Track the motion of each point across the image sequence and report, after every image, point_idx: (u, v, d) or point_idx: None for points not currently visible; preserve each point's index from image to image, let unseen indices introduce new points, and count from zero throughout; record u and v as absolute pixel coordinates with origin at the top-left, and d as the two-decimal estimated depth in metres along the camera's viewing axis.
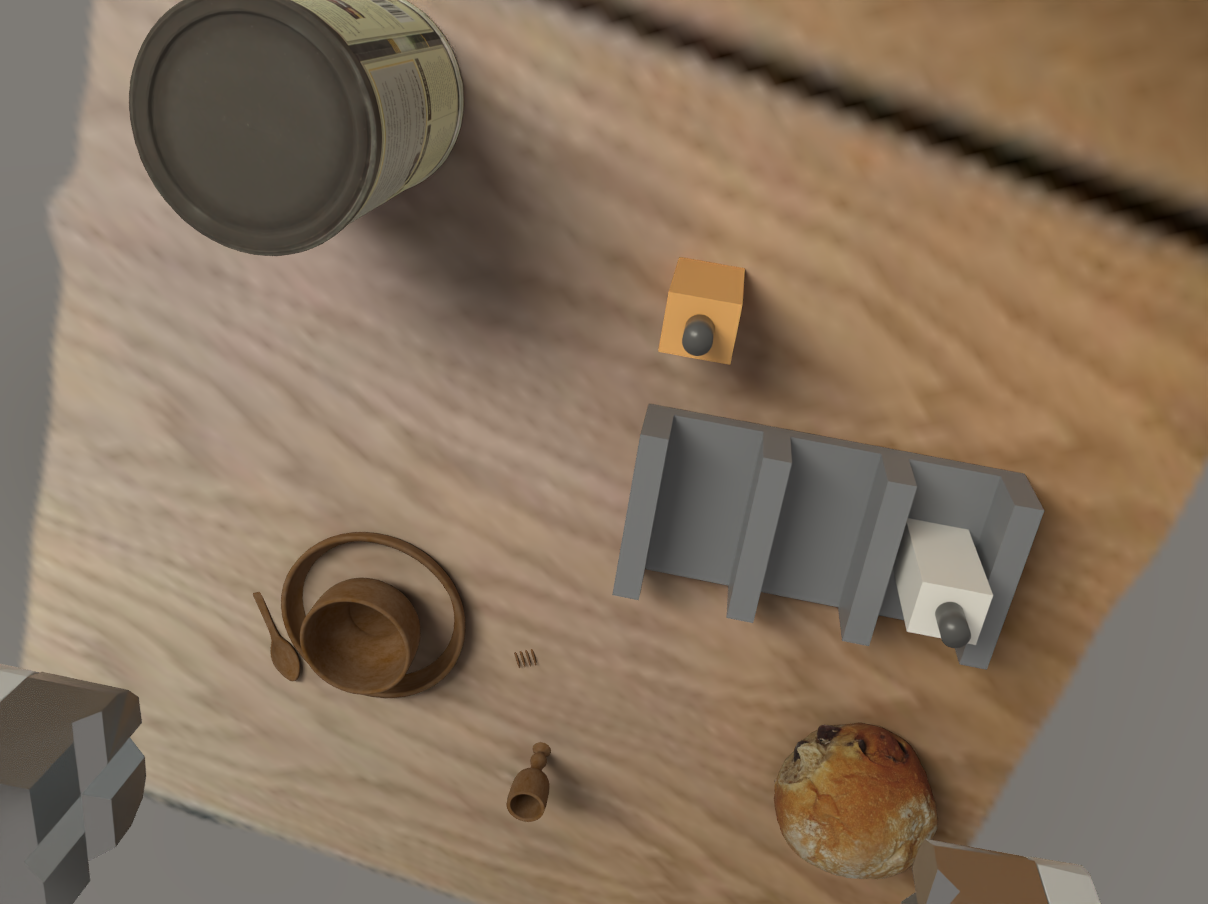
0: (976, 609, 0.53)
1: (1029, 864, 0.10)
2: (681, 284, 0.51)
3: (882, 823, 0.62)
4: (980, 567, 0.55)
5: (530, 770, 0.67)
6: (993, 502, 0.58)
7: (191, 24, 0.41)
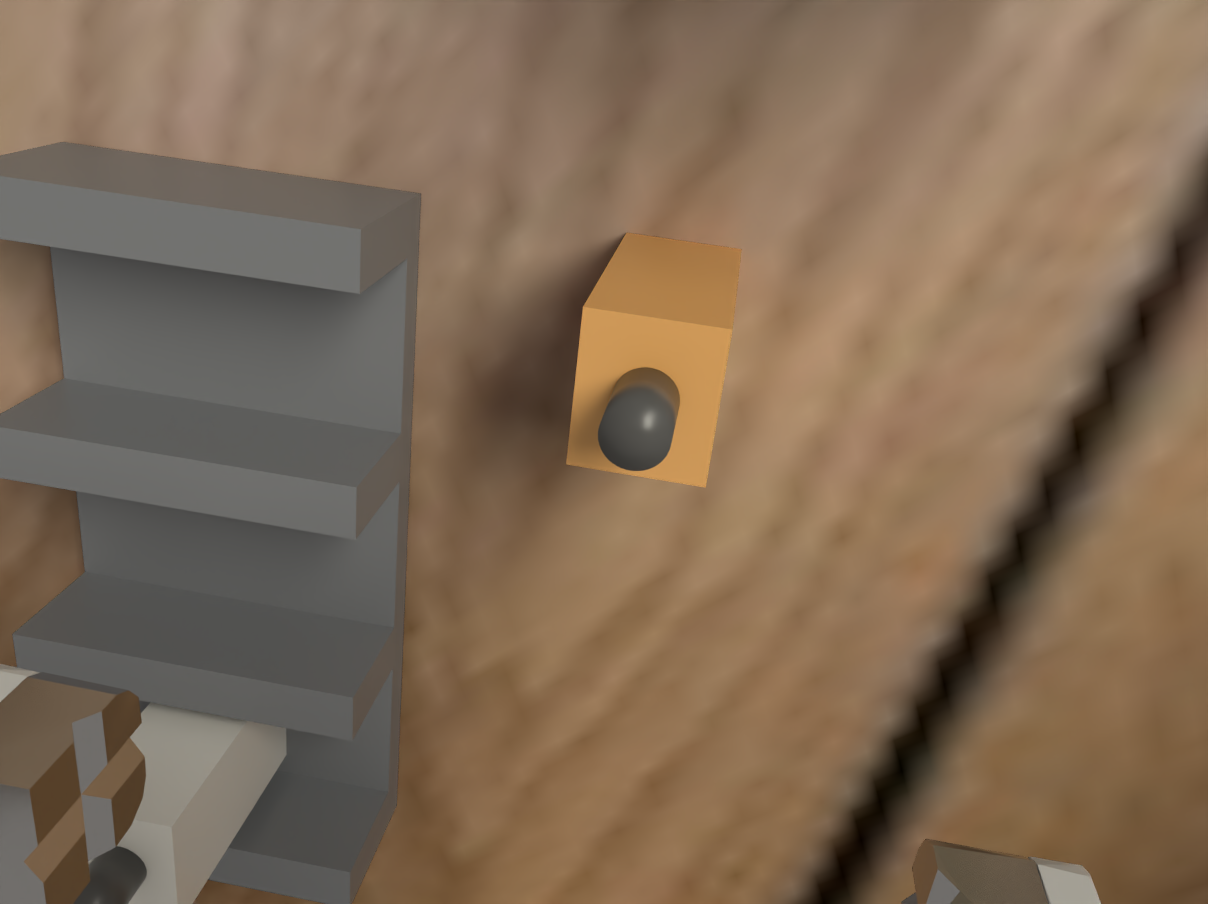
0: (144, 903, 0.28)
1: (1029, 864, 0.10)
2: None
3: None
4: (226, 846, 0.31)
5: None
6: (342, 788, 0.35)
7: None
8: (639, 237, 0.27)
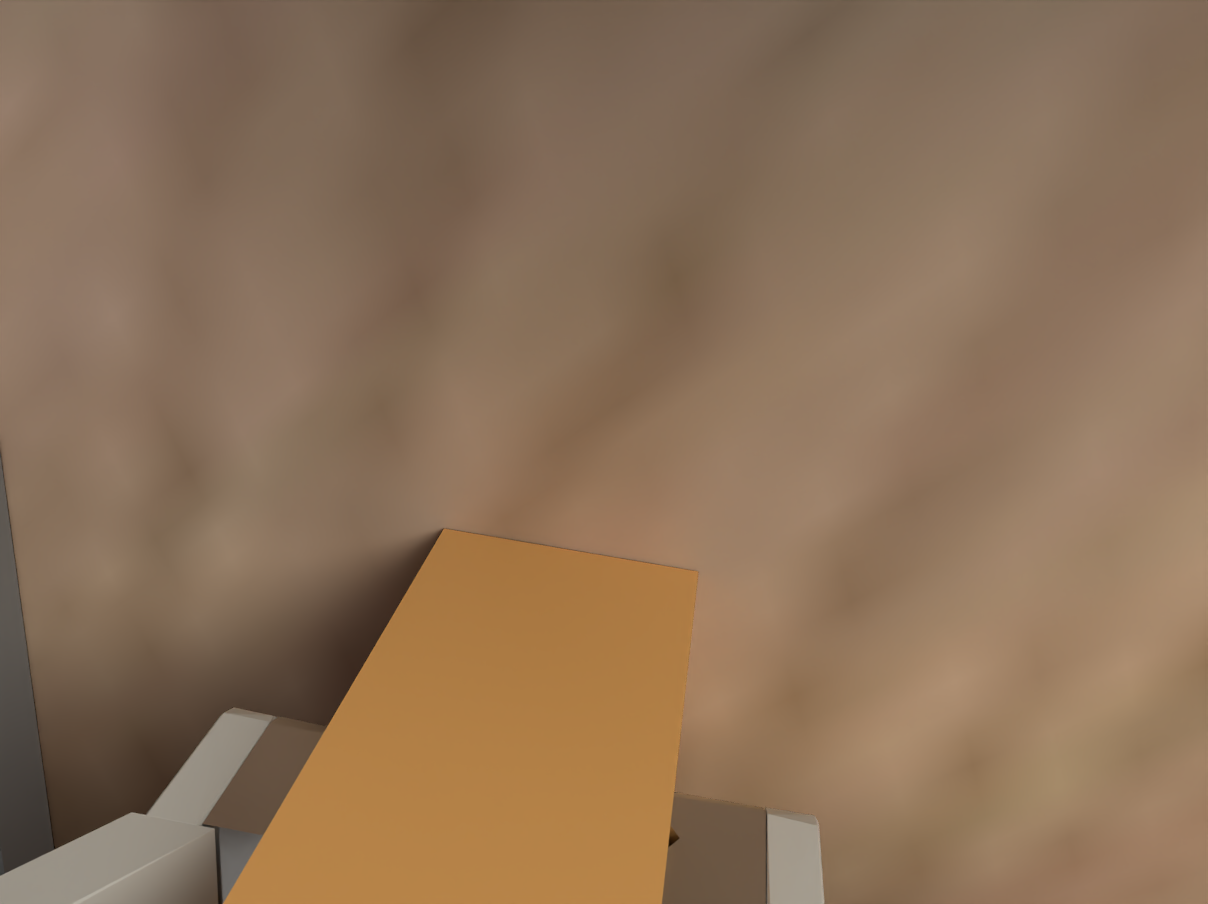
0: None
1: (760, 813, 0.10)
2: None
3: None
4: None
5: None
6: None
7: None
8: (467, 548, 0.12)
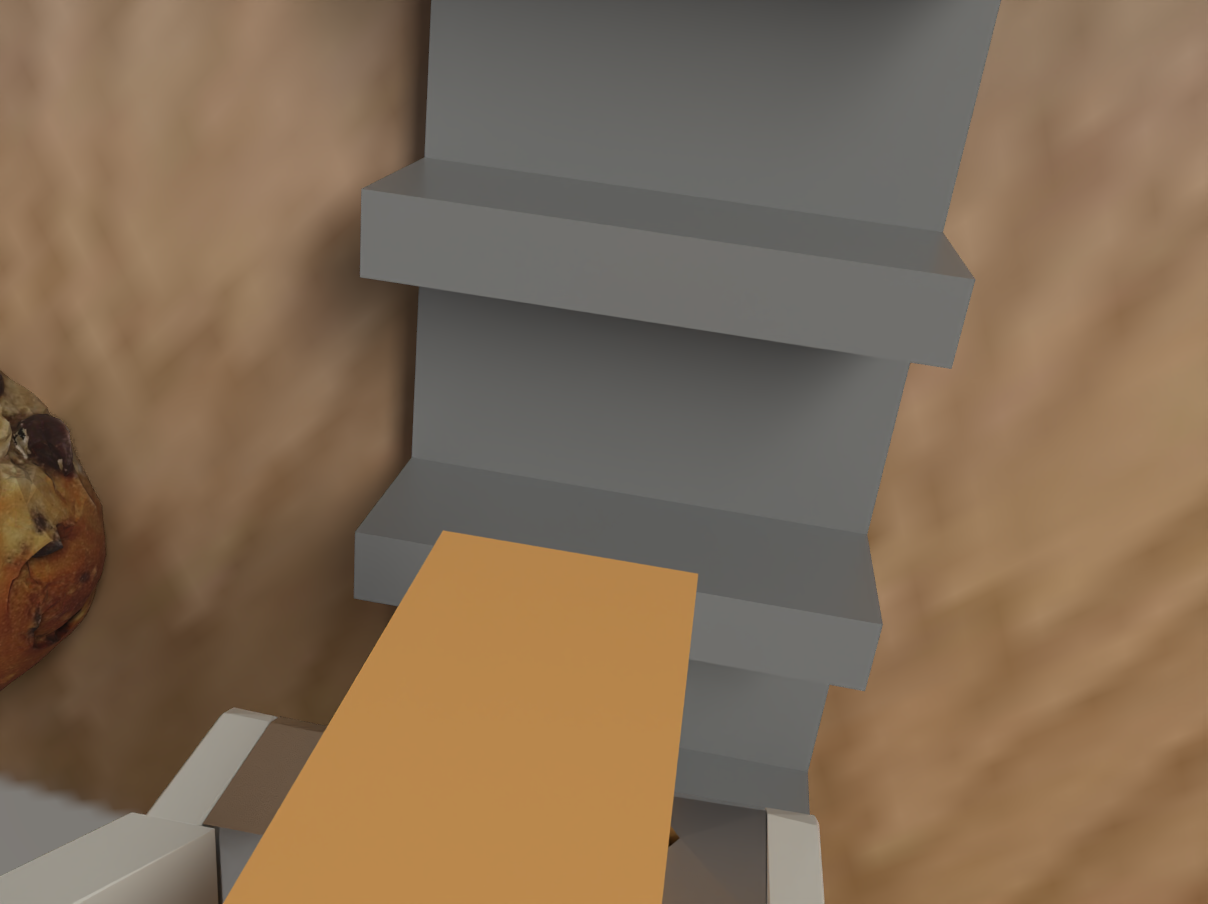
0: None
1: (759, 813, 0.10)
2: None
3: None
4: None
5: None
6: (744, 766, 0.25)
7: None
8: (466, 550, 0.12)
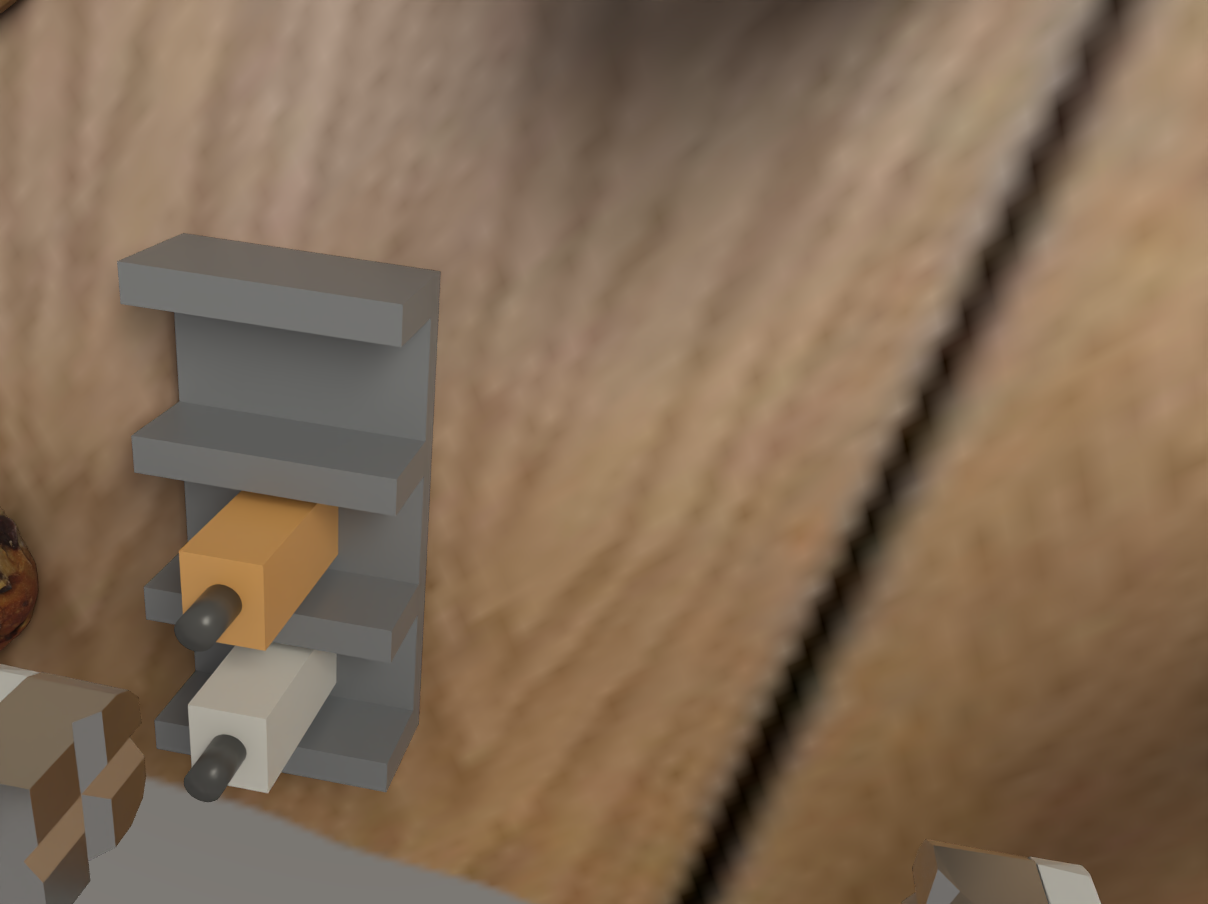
0: (243, 777, 0.40)
1: (1030, 864, 0.10)
2: (283, 554, 0.38)
3: None
4: (297, 743, 0.42)
5: None
6: (378, 707, 0.46)
7: None
8: None
